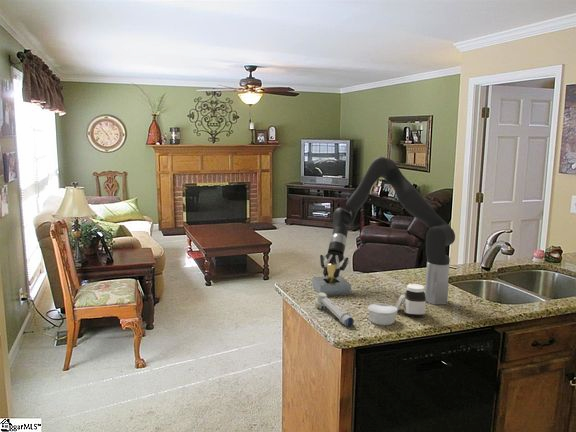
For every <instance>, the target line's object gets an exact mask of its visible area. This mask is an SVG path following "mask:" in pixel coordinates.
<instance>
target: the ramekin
mask: <svg viewBox="0 0 576 432" xmlns="http://www.w3.org/2000/svg"><path fill="white" fill-rule="evenodd" d="M367 311H368V319H369V320H370V322H371V323H372V324H375V325H378V326H389V325H390V326H391V325H393V324H394V323H395V321H396V317H397V314H398V311H397V308H396V307H395V305H391V304H387V303H381V302H379V303H372V304H369V305H368V306H367ZM392 323H393V324H392Z"/></svg>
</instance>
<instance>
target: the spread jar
mask: <svg viewBox="0 0 576 432" xmlns="http://www.w3.org/2000/svg"><path fill="white" fill-rule="evenodd" d="M402 304H403V310H404V311H403V312H404V315H406V316H407V315H408V316H407V317H410V316H411V318H421V317H424V316H425V314H426V306H427V305H426V304H427V302H426V296H425V285H422V284H418V283H408V284H407V285H406V290H405V293H404V294H400V296H399V298H398V299H397V301H396V304H395V305H394V307H396V308H397V312H398V311H400V308H401V306H402Z"/></svg>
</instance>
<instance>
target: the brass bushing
mask: <svg viewBox="0 0 576 432" xmlns="http://www.w3.org/2000/svg"><path fill="white" fill-rule="evenodd" d="M336 269H337V264H336V263H327V283H336V278H335V273H336Z"/></svg>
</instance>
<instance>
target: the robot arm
mask: <svg viewBox="0 0 576 432" xmlns="http://www.w3.org/2000/svg"><path fill="white" fill-rule="evenodd" d="M380 178H383V179H384V180H386V182H388V183H389V185H390V186H391V187H392V188H393V190H394V192H395V196H396V197H397V200H398V202H399V203H400V204H401V206H402V207H403V208H404V209H405V211H407V212H408V213H409V214H410V215H411V216H412V217H414V218H415V219H416V220H419V221H420V222H422V223H423V224H425V226H427V228H428V230H427V231H426V235H425V256H426V273H425V284H424V287H425V290H424V292H425V296H426V303H429V304H433V305H447V304H448V299H449V284H450V282H449V273H450V264H451V263H450V262H451V259H450V256H449V255H447V254H446V247H448V246H450V245H453V243H454V242H455V240H456V234H455V231H454V230H453V228H452V226H450V225H449V223H447V222H446V221H445V220H444V219H443V218H442V217H441V216H440V215H439V214H438V213H437V212H436V211H435V210H434V208H433V207H432V206H431V205H430V204H429V203H428V202H427V200H426V199H425V198H424V197H423V196H422V194H421V193H420V192H419V191H418V189H416V188H415V187H414V185H413V184H412V183H411V182H410V181H409V180H408V179H407V178H406V176H404V174H403V173H402V172H401V170H400V169H399V167H398V165H397V164H396V163H395V161H394V160H393V159H391V158H387V157H385V156H378V157H375V158H374V159H373V160H372V162H371V163H370V164H369V166H368V168H367V170H366V172H365V175H364V176H363V177H362V180H361V181H360V183H359V185H358V186H357V188H356V189H355V190H354V192H353V193H352V194H351V195H350V197H349V198H348V200H347V201H346V203H345V205H346V207H347V208H348V209H349V210H350V211H348V210H346V209H345V208H342V207H338V208H336V209H335V210H334V211H333V214H332V226H333V230H332V234H331V237H330V240H329V245H328V250H327V253H326V254H324V255H323V254H320V255H319V258H320V266H321V269H323V272H322V274H323V275H322V276H325V277H326V276H327V263H336V264H337V269H336V273H335V278H337V277H339V276H340V273H341V271H345V270H346V268H347V266H348V264H349V262H350V259H349V257H345V256H344V255H345V251H346V246H347V237H348V233H349V228H348V227H351V226H352V225H353V224H354V221H355V219H356V216H357V214H358V212H359V210H360V209H361V208H362V206H363V205H364V204H365V203H366V201H367V200H368V198H369V195H370V192H371V190H372V188H373V186H374V184H375V183H376V182H377V181H378V180H379V179H380ZM325 260H326V261H325ZM342 261H343V263H342V264H341V262H342Z"/></svg>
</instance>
